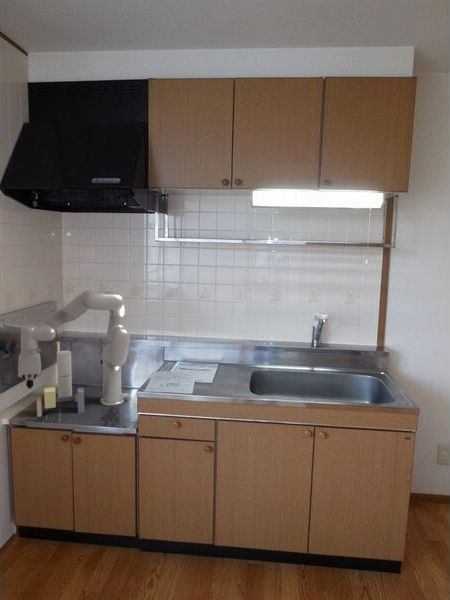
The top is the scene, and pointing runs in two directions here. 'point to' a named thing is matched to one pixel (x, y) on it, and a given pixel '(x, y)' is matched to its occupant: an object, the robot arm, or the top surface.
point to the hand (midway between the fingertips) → (29, 387)
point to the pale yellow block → (50, 397)
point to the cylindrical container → (64, 373)
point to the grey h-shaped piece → (78, 398)
